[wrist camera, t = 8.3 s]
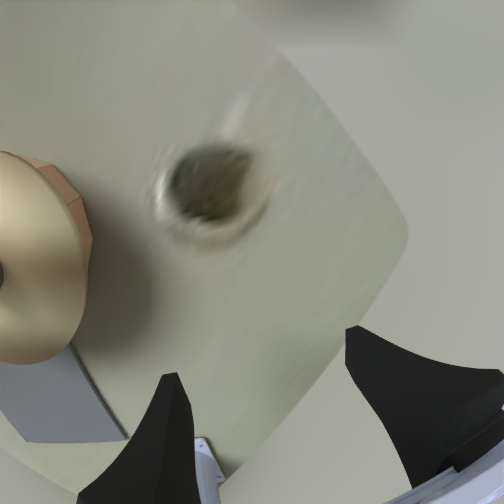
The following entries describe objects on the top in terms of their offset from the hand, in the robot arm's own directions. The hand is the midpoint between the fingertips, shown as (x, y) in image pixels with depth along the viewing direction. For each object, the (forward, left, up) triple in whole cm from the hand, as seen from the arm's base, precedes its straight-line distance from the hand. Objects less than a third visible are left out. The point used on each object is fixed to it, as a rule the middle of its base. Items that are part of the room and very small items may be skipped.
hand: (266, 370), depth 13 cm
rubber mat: (-8, +20, -10) cm, 24 cm away
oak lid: (+6, +14, -5) cm, 16 cm away
